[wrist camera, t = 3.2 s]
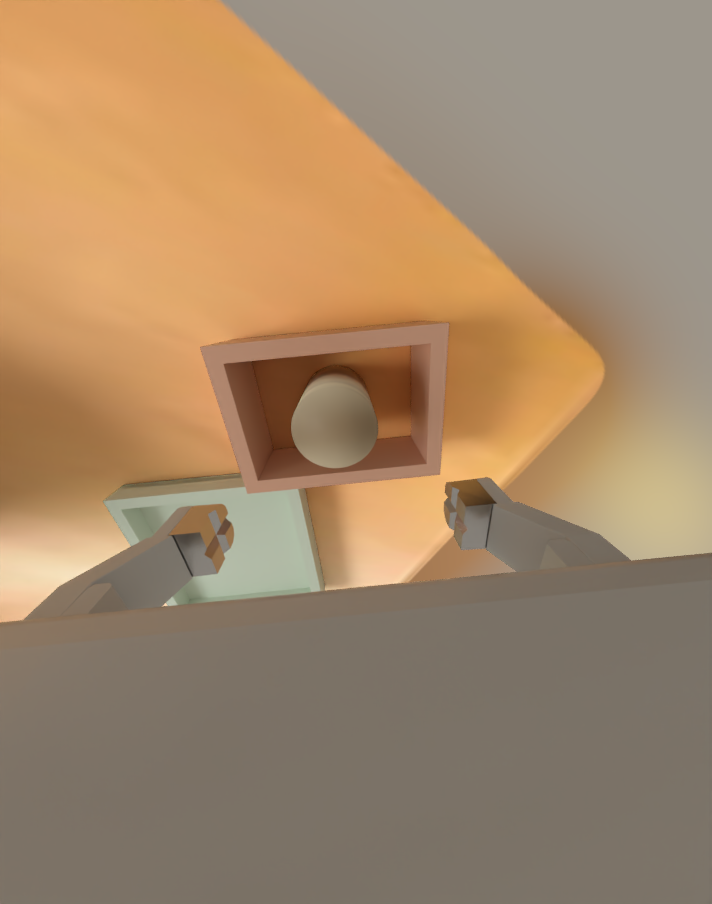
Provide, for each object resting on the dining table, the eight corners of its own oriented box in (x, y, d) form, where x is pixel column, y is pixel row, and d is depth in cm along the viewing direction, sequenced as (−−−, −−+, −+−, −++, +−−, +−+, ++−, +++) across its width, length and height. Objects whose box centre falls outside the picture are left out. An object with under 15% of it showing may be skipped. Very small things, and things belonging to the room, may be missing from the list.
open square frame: (231, 339, 20) (199, 346, 15) (424, 320, 20) (449, 322, 15) (264, 460, 24) (247, 493, 20) (421, 445, 24) (440, 474, 20)
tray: (123, 484, 25) (102, 501, 23) (300, 467, 25) (296, 481, 23) (188, 599, 32) (176, 620, 30) (324, 585, 32) (323, 605, 30)
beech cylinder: (300, 369, 21) (282, 392, 15) (365, 362, 21) (375, 383, 15) (310, 429, 23) (299, 472, 17) (369, 423, 23) (380, 464, 17)
